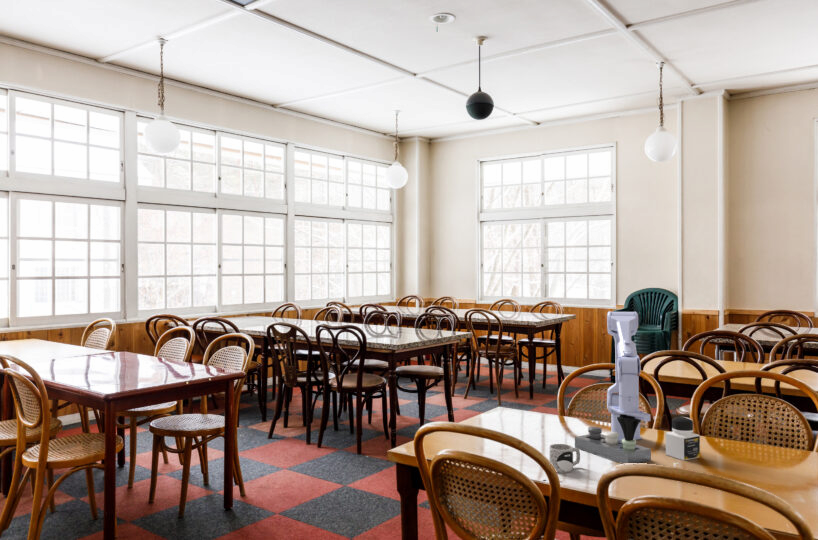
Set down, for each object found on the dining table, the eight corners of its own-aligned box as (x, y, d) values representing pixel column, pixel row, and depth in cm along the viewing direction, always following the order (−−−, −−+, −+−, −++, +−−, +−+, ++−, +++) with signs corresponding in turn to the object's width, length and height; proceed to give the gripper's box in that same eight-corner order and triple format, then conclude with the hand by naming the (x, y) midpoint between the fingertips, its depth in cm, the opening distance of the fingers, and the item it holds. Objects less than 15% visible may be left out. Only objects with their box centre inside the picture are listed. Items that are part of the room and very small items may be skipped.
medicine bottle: (684, 461, 192) (684, 421, 192) (665, 455, 198) (665, 416, 198) (700, 457, 195) (700, 419, 195) (680, 451, 202) (680, 414, 202)
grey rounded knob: (594, 438, 209) (594, 426, 209) (604, 441, 205) (604, 429, 205) (585, 440, 207) (585, 427, 207) (595, 443, 203) (595, 430, 203)
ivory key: (611, 443, 203) (611, 430, 203) (621, 446, 199) (621, 433, 199) (601, 445, 201) (601, 432, 201) (611, 448, 197) (611, 435, 197)
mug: (558, 474, 180) (558, 451, 180) (545, 467, 186) (544, 445, 186) (587, 470, 184) (587, 447, 184) (572, 463, 190) (572, 441, 190)
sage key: (628, 450, 197) (628, 437, 197) (639, 453, 193) (639, 440, 193) (618, 452, 195) (618, 439, 195) (629, 455, 191) (629, 442, 191)
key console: (597, 443, 212) (597, 432, 212) (651, 460, 193) (650, 449, 193) (574, 447, 207) (574, 436, 207) (628, 465, 188) (627, 453, 188)
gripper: (601, 393, 198) (601, 436, 198) (638, 401, 186) (639, 447, 186) (617, 391, 202) (617, 433, 202) (655, 399, 189) (655, 444, 189)
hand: (629, 440), depth 194 cm, fingers closed, pressing on sage key
